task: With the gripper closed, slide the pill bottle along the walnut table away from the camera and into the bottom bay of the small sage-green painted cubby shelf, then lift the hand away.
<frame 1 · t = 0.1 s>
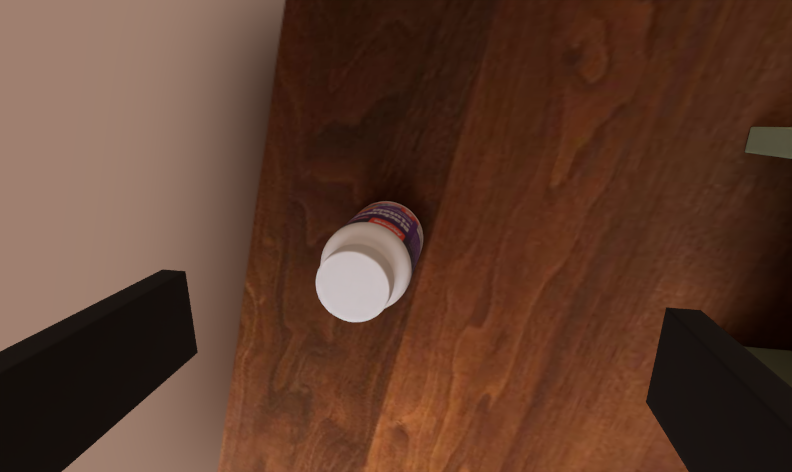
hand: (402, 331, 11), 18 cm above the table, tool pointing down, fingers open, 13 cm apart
pill bottle: (388, 234, 30), on the table
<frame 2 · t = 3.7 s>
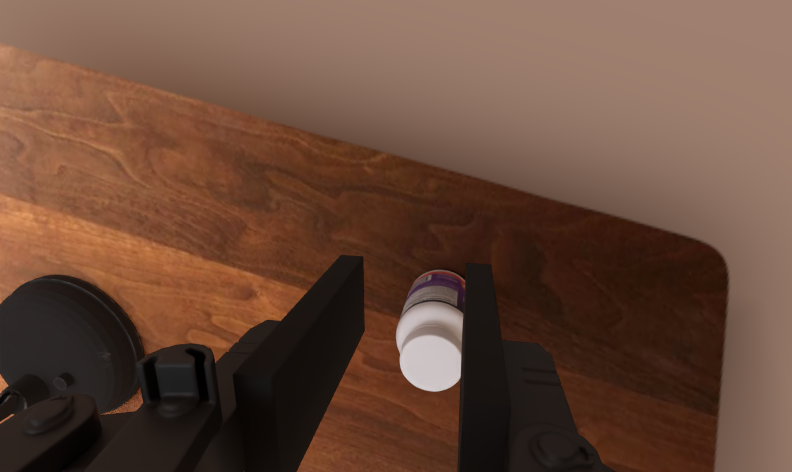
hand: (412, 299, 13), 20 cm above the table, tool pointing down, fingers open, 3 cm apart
desk lamp: (83, 339, 43), on the table
pill bottle: (441, 296, 35), on the table
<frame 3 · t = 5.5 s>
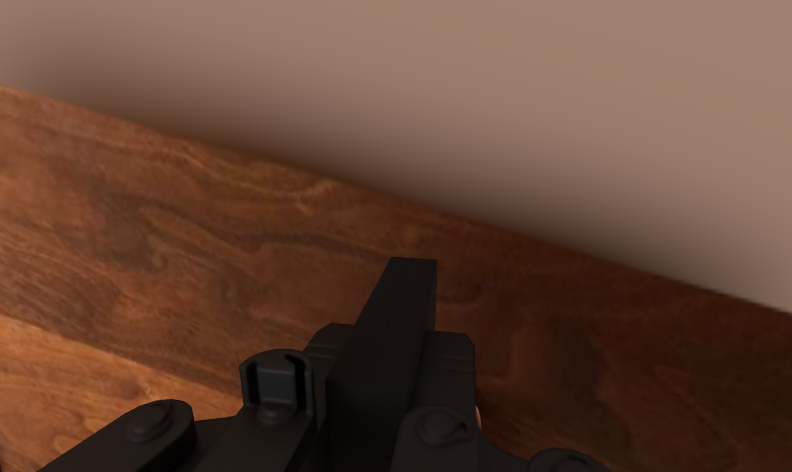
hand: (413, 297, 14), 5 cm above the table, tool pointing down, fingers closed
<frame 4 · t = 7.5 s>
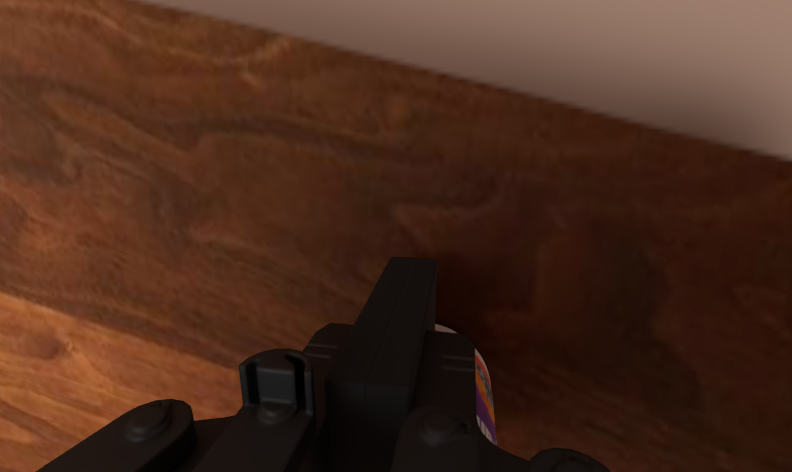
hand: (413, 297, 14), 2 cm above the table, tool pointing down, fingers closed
pill bottle: (422, 374, 16), on the table, touching gripper
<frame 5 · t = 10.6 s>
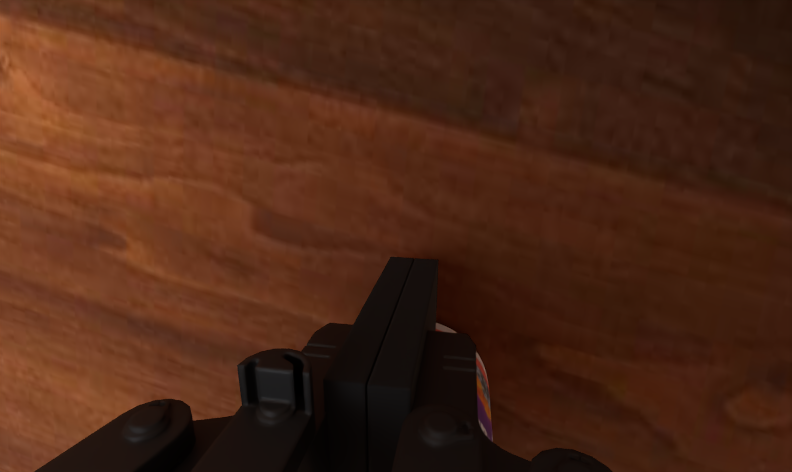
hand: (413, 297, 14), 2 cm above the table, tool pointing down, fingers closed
pill bottle: (420, 372, 16), on the table, touching gripper
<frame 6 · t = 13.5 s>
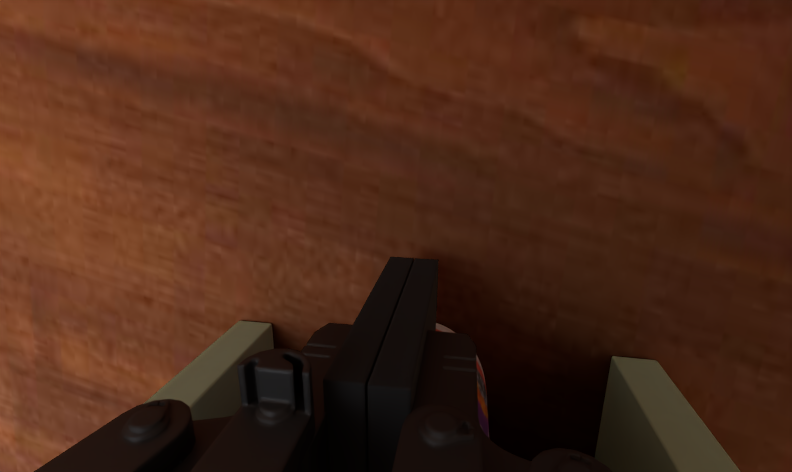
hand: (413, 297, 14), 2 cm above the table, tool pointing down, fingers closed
shelf: (426, 463, 17), on the table
pill bottle: (417, 371, 16), on the table, touching gripper
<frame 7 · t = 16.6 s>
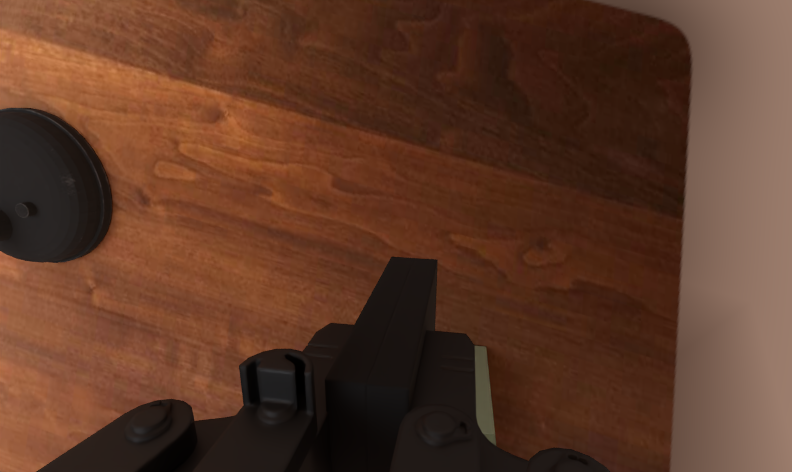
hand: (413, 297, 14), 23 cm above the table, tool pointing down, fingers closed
desk lamp: (49, 181, 42), on the table
shelf: (402, 390, 42), on the table
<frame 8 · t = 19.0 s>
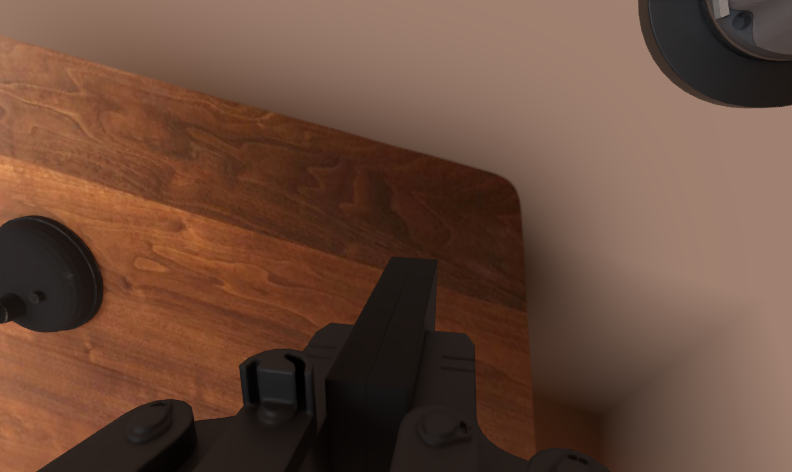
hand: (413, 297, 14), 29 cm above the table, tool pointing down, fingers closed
desk lamp: (54, 269, 54), on the table
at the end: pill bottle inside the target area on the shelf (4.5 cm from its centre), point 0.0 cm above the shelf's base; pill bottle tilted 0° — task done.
